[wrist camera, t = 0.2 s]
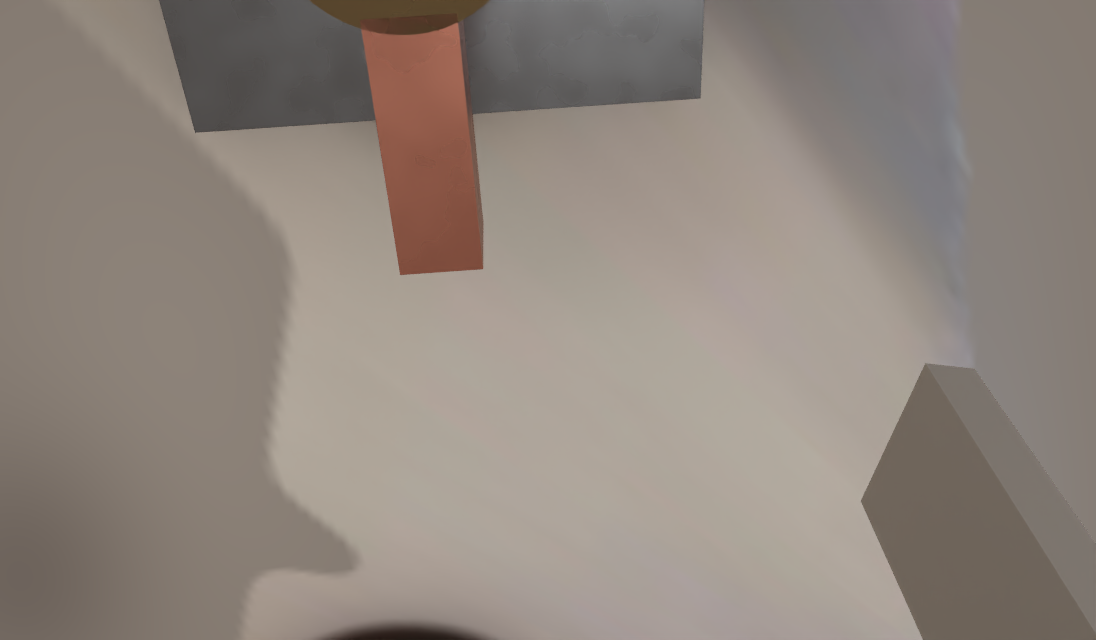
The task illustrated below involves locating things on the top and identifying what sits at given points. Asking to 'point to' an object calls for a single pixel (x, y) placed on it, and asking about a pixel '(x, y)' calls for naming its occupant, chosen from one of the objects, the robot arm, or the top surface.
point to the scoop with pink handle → (423, 126)
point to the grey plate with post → (491, 45)
